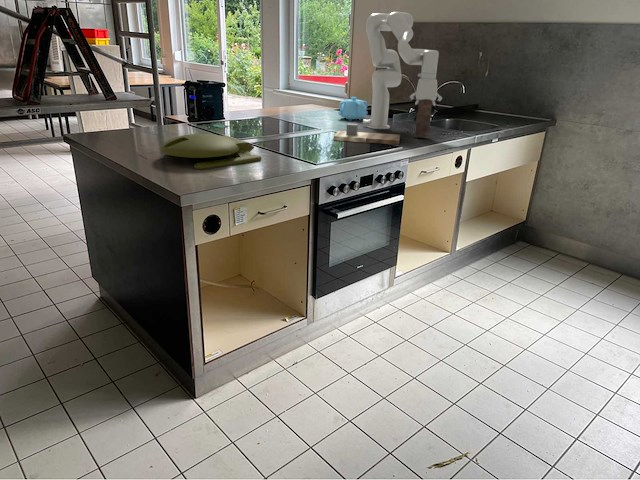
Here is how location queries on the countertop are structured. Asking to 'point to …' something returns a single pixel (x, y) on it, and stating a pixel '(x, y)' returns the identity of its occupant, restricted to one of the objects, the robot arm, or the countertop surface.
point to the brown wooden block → (423, 118)
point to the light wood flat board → (368, 137)
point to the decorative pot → (353, 109)
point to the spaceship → (210, 149)
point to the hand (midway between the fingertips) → (424, 112)
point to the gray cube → (352, 129)
